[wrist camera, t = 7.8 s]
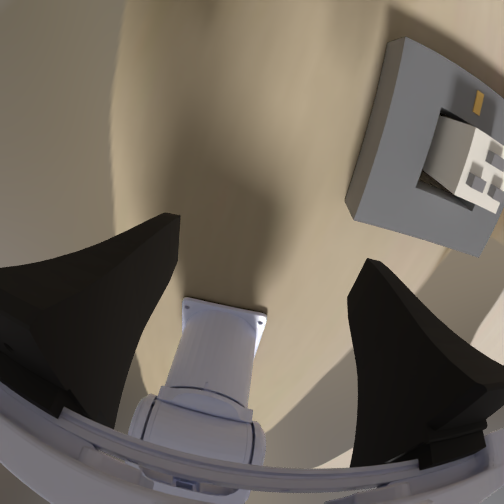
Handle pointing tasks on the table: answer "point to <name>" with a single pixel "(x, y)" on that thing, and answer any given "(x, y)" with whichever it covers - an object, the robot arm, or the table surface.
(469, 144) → the plug
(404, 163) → the socket
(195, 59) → the table surface
